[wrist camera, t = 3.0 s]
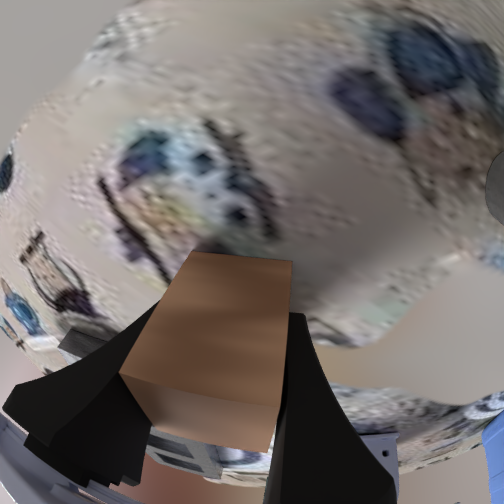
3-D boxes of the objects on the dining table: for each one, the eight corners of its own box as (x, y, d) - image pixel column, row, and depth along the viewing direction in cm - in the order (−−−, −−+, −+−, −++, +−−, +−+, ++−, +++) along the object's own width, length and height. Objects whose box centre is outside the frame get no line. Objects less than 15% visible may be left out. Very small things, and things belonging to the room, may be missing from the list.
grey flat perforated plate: (191, 364, 15) (181, 391, 13) (223, 468, 31) (220, 479, 29) (70, 329, 16) (57, 347, 15) (161, 452, 32) (157, 462, 30)
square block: (292, 261, 10) (280, 407, 5) (282, 332, 12) (267, 453, 7) (191, 251, 11) (118, 372, 6) (200, 321, 13) (156, 429, 8)
